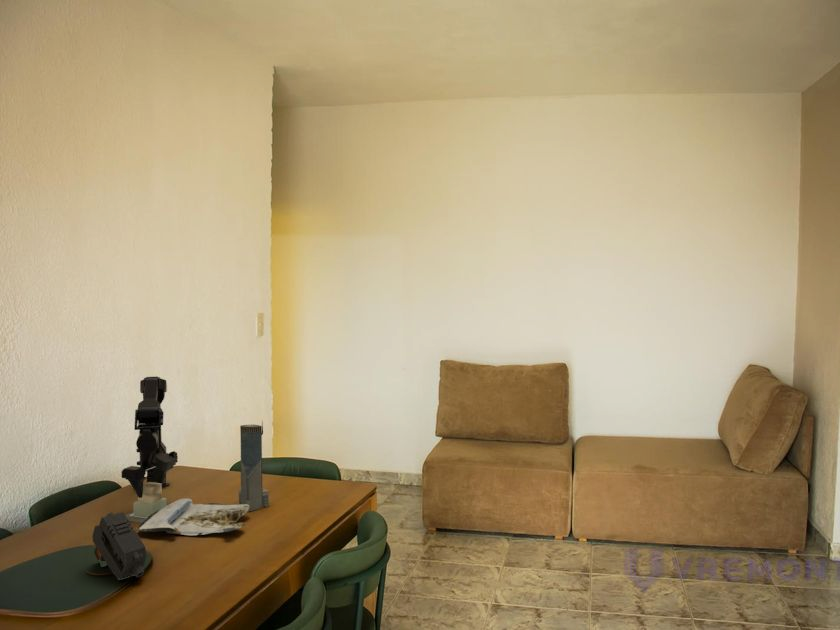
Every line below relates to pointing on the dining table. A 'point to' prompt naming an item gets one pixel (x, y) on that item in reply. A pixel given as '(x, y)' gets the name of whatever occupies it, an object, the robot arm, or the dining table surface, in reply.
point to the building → (252, 468)
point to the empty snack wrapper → (195, 518)
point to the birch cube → (151, 492)
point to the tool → (119, 546)
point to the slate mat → (135, 517)
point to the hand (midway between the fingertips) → (150, 493)
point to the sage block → (148, 507)
